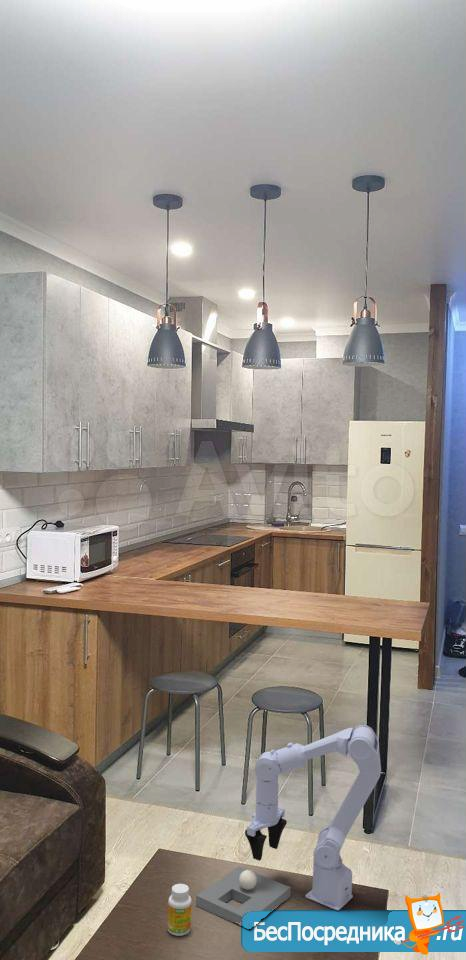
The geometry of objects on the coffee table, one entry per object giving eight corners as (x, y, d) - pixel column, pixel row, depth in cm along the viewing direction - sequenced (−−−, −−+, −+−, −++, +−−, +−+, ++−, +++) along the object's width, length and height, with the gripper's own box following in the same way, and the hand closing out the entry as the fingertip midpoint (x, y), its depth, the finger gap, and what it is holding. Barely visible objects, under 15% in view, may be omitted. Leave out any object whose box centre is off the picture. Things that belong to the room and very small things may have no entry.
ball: (261, 872, 194) (251, 875, 191) (258, 891, 194) (247, 893, 190) (248, 866, 197) (237, 868, 194) (244, 884, 196) (234, 886, 193)
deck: (290, 897, 195) (290, 887, 195) (249, 930, 180) (249, 920, 180) (238, 875, 204) (238, 866, 204) (195, 905, 190) (196, 895, 190)
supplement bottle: (172, 938, 176) (174, 896, 176) (163, 926, 181) (165, 884, 181) (194, 933, 179) (195, 891, 179) (184, 920, 184) (186, 879, 183)
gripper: (269, 787, 207) (267, 837, 208) (237, 806, 196) (236, 859, 196) (291, 794, 203) (290, 846, 204) (261, 814, 192) (259, 868, 192)
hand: (265, 853), depth 200 cm, fingers open, 7 cm apart
